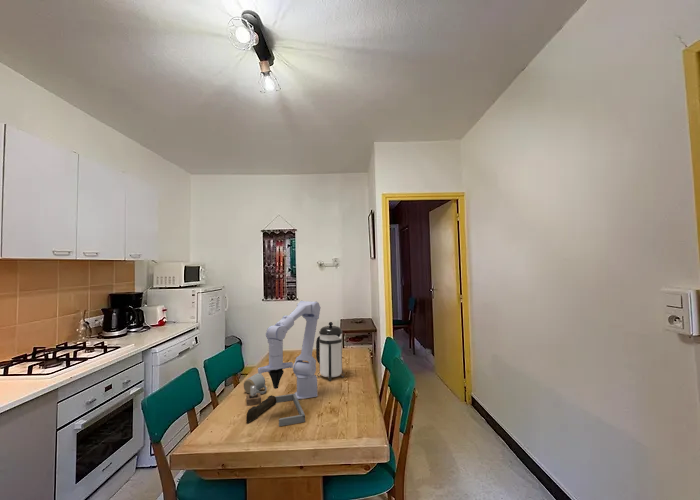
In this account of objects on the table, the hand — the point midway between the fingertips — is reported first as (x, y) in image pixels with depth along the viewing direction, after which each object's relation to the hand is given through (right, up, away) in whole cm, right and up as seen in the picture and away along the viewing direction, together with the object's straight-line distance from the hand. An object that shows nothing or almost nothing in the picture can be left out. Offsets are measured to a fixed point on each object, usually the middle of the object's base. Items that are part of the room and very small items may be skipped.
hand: (275, 387), depth 133 cm
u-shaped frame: (+5, -10, +1) cm, 12 cm away
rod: (-13, -11, +11) cm, 20 cm away
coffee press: (+19, -13, +43) cm, 49 cm away
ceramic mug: (-15, -12, +23) cm, 30 cm away
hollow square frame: (-13, -11, +11) cm, 20 cm away
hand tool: (-6, -11, 0) cm, 12 cm away
